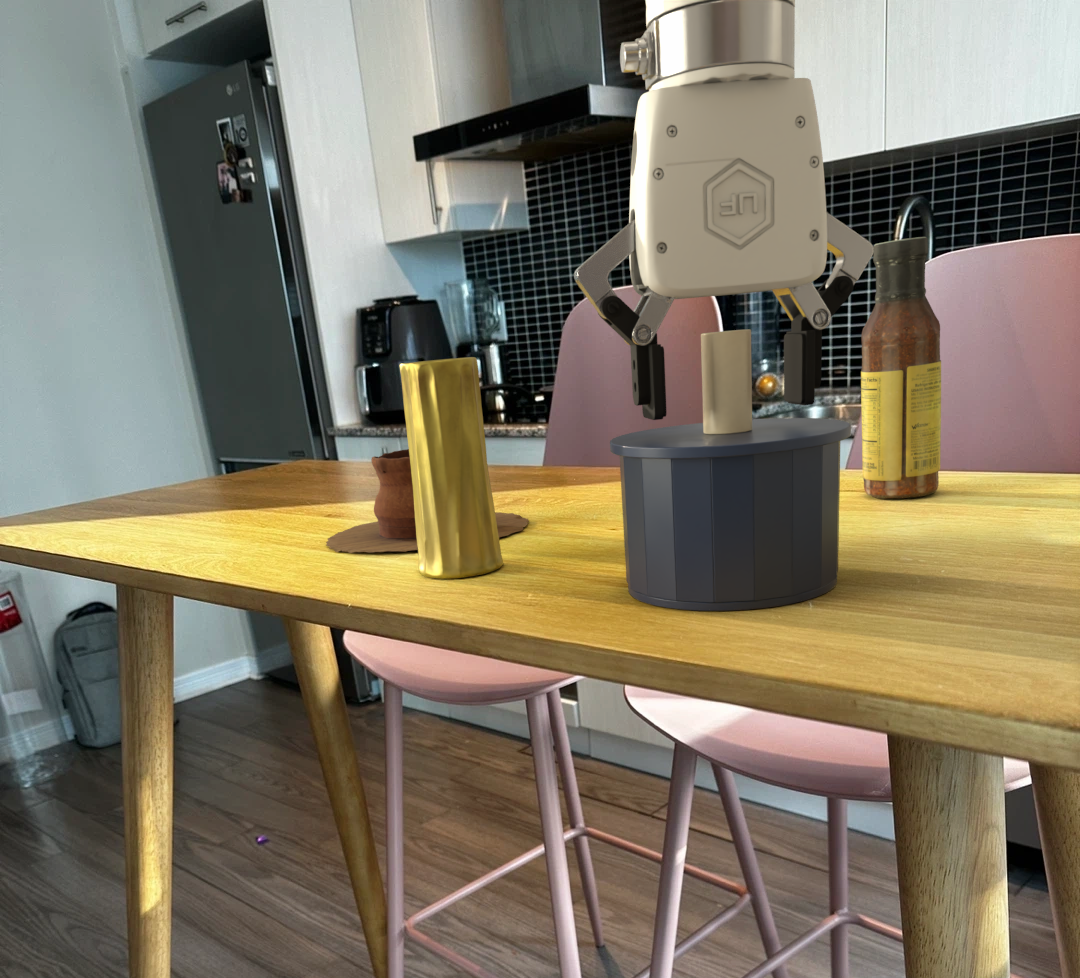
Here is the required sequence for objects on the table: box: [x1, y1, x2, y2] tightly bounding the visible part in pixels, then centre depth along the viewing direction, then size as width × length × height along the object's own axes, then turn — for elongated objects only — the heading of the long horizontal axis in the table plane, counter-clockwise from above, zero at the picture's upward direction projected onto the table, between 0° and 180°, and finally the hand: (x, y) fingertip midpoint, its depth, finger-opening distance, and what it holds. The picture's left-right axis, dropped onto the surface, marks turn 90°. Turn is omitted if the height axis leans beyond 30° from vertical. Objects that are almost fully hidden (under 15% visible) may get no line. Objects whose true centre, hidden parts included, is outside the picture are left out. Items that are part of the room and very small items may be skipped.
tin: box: [618, 441, 841, 612], centre depth 62 cm, size 13×13×8 cm
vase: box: [399, 356, 504, 580], centre depth 71 cm, size 6×6×14 cm
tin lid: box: [609, 328, 852, 459], centre depth 59 cm, size 14×14×7 cm
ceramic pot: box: [325, 448, 530, 554], centre depth 88 cm, size 18×18×7 cm
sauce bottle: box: [860, 236, 942, 500], centre depth 84 cm, size 6×6×20 cm
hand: (727, 409), depth 60 cm, fingers open, 8 cm apart
